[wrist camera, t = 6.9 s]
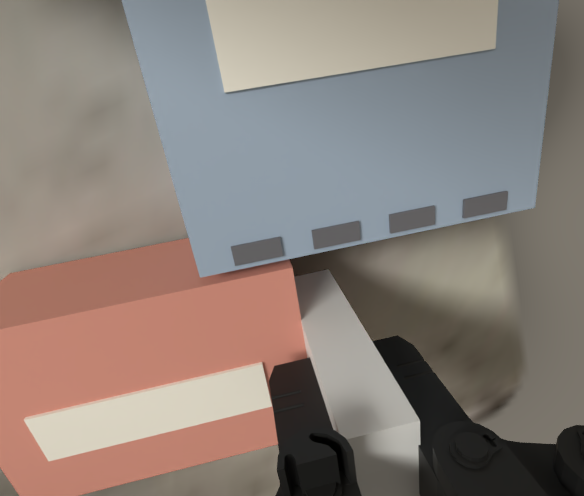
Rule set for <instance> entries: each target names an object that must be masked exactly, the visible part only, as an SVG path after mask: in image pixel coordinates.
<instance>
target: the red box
mask: <svg viewBox="0 0 584 496" xmlns="http://www.w3.org/2000/svg"><path fill="white" fill-rule="evenodd" d="M305 358H307V353H306V347H305V341H304V335H303V329H302V323H301V315H300V309H299V303H298V297H297V291H296V285H295V279H294V273H293V267H292V265H291V262H290V260H289V259H287V260H283V261H278V262H273V263H268V264H263V265H259V266H254V267H249V268H244V269H240V270H235V271H230V272H225V273H220V274H216V275H211V276H206V277H201V278H200V276H199V272H198V269H197V265H196V262H195V258H194V255H193V251H192V248H191V244H190V240H189V238H186V239H181V240H176V241H171V242H166V243H161V244H156V245H151V246H146V247H141V248H136V249H130V250H125V251H120V252H115V253H110V254H105V255H100V256H95V257H90V258H85V259H80V260H75V261H70V262H65V263H60V264H55V265H50V266H45V267H40V268H35V269H30V270H24V271H19V272H14V273H10V274H9V275H8V276H6V277H5V278H4V279H3V280H1V281H0V468H1V469H2V471H3V472H4V474H5V475H6V477H7V478H8V480H9V481H10V483H11V484H12V485H13V487H14V488H15V490H16V491H17V493H18V494H19V496H79V495H83V494H86V493H90V492H94V491H98V490H102V489H106V488H110V487H114V486H118V485H122V484H125V483H129V482H133V481H137V480H141V479H145V478H149V477H153V476H157V475H160V474H164V473H168V472H172V471H176V470H180V469H184V468H188V467H192V466H196V465H199V464H203V463H207V462H211V461H215V460H219V459H223V458H227V457H231V456H234V455H238V454H242V453H246V452H250V451H254V450H258V449H262V448H266V447H270V446H273V445H277V444H278V440H277V433H276V426H275V419H274V412H273V406H272V399H271V393H270V386H269V379H270V376H271V374H272V371H273V368H274V366H276V365H280V364H284V363H288V362H293V361H297V360H301V359H305Z"/></svg>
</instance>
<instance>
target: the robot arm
mask: <svg viewBox="0 0 584 496" xmlns="http://www.w3.org/2000/svg"><path fill="white" fill-rule="evenodd" d="M294 279H295V285H296V291H297V297H298V303H299V309H300V315H301V323H302V329H303V335H304V341H305V347H306V353H307V358H305V359H301V360H297V361H293V362H288V363H284V364H280V365H276V366H274V368H273V371H272V374H271V376H270V379H269V386H270V393H271V399H272V406H273V412H274V419H275V426H276V433H277V440H278V446H279V455H278V463H277V472H278V476H279V480H280V487H279V489H278V492H277V494H276V496H584V426H581V425H576V426H573V427H570V428H566V429H564V430H563V431H562V433H561V434H560V435H559V436H558V438H557V443H556V444H537V443H520V442H513V441H507V440H503V439H501V438H499V437H498V436H497V435H496V434H495V433H494V432H493V431H491V430H489V429H487V428H485V427H484V426H482V425H480V424H476V423H473V422H472V420H471V419H470V418H469V417H468V416H467V415H466V414H465V412H464V411H463V410H462V408H461V407H460V406H459V404H458V403H457V402H456V400H455V399H454V398H453V397H452V395H451V394H450V393H449V391H448V390H447V389H446V387H445V386H444V385H443V383H442V382H441V381H440V379H439V378H438V377H437V376H436V374H435V373H433V371H432V369H431V368H430V366H429V365H428V364H427V362H426V361H424V359H423V357H422V356H421V355H420V353H419V352H418V351H417V349H416V348H415V347H414V345H412V344H410V343H409V342H407V341H406V340H404V339H402V338H401V337H399V336H394V337H389V338H385V339H381V340H377V341H372V340H371V339H370V337H369V335H368V334H367V332H366V330H365V329H364V327H363V325H362V324H361V322H360V320H359V319H358V317H357V315H356V314H355V312H354V310H353V309H352V307H351V306H350V304H349V302H348V301H347V299H346V297H345V296H344V294H343V292H342V291H341V289H340V287H339V286H338V284H337V282H336V281H335V279H334V277H333V276H332V274H331V272H330V271H329V269H327V270H323V271H318V272H313V273H309V274H304V275H299V276H295V277H294Z"/></svg>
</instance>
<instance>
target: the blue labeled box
mask: <svg viewBox="0 0 584 496" xmlns="http://www.w3.org/2000/svg"><path fill="white" fill-rule="evenodd" d="M122 4H123V7H124V11H125V14H126V18H127V21H128V25H129V29H130V32H131V36H132V39H133V43H134V46H135V50H136V53H137V57H138V60H139V64H140V67H141V71H142V74H143V78H144V82H145V85H146V89H147V92H148V96H149V99H150V103H151V106H152V110H153V113H154V117H155V120H156V124H157V127H158V131H159V134H160V138H161V142H162V145H163V149H164V152H165V156H166V159H167V163H168V166H169V170H170V173H171V177H172V180H173V184H174V187H175V191H176V195H177V198H178V202H179V205H180V209H181V212H182V216H183V219H184V223H185V226H186V230H187V233H188V237H189V240H190V244H191V248H192V251H193V255H194V258H195V262H196V265H197V269H198V272H199V276H200V278H201V277H206V276H211V275H216V274H220V273H225V272H230V271H235V270H240V269H244V268H249V267H254V266H259V265H263V264H268V263H273V262H278V261H283V260H287V259H292V258H297V257H302V256H307V255H311V254H316V253H321V252H326V251H331V250H335V249H340V248H345V247H350V246H354V245H359V244H364V243H369V242H374V241H378V240H383V239H388V238H393V237H398V236H402V235H407V234H412V233H417V232H421V231H426V230H431V229H436V228H441V227H445V226H450V225H455V224H460V223H465V222H469V221H474V220H479V219H484V218H488V217H493V216H498V215H503V214H508V213H512V212H517V211H522V210H526V209H532V208H535V203H536V194H537V186H538V177H539V168H540V160H541V151H542V142H543V134H544V125H545V117H546V108H547V99H548V91H549V82H550V73H551V65H552V56H553V47H554V39H555V30H556V21H557V12H558V4H559V0H122Z"/></svg>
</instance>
